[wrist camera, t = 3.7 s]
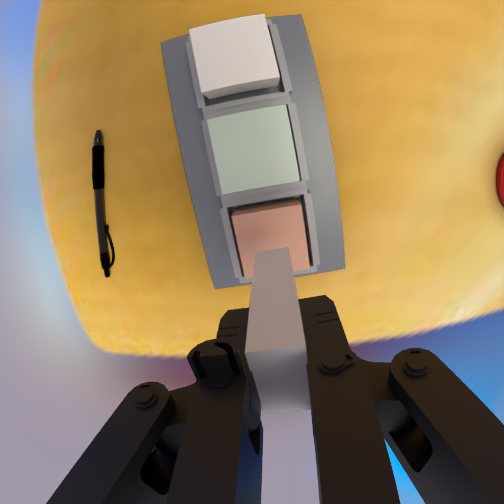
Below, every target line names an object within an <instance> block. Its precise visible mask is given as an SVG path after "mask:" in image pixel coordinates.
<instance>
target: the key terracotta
mask: <svg viewBox="0 0 504 504" xmlns="http://www.w3.org/2000/svg"><path fill="white" fill-rule="evenodd" d="M232 221H233V225H234V230H235V235H236V239H237V244H238V248H239V253H240V257H241V262H242V266H243V271H244V275H245V279H249V278H252V277H253V268H254V258H255V252H259V251H265V250H272V249H278V248H284V247H289V253H290V258H291V263H292V268H293V272H294V271H300V270H306V269H310V265H309V257H308V249H307V241H306V234H305V227H304V220H303V213H302V206H301V203H300V202H299V200H298V198H291V199H285V200H279V201H273V202H267V203H262V204H256V205H250V206H245V207H239V208H235V210H234V212H233V214H232Z"/></svg>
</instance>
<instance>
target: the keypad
mask: <svg viewBox="0 0 504 504" xmlns="http://www.w3.org/2000/svg"><path fill="white" fill-rule="evenodd" d="M265 19H266V22H267V26H268V30H269V34H270V38H271V42H272V46H273V50H274V54H275V58H276V62H277V66H278V71H279V75H280V79H279V84H278V86H274V87H268V88H262V89H256V90H250V91H245V92H240V93H235V94H230V95H226V96H221V97H217V98H212V99H209V98H207V97H206V96H205V95H204V94H202V93H201V89H200V84H199V79H198V74H197V68H196V63H195V58H194V53H193V47H192V42H191V37H190V34H187V35H184V36H180V37H177V38H174V39H171V40H168V41H165V42H162V43H161V47H162V54H163V60H164V66H165V72H166V77H167V83H168V89H169V94H170V99H171V105H172V110H173V115H174V120H175V125H176V130H177V135H178V140H179V145H180V149H181V154H182V159H183V163H184V168H185V172H186V177H187V181H188V185H189V190H190V194H191V198H192V203H193V207H194V211H195V215H196V219H197V223H198V227H199V231H200V235H201V239H202V243H203V247H204V251H205V255H206V258H207V262H208V266H209V270H210V273H211V277H212V281H213V284H214V288H215V289H220V288H227V287H234V286H241V285H248V284H252V278H249V279H245V275H244V271H243V266H242V262H241V257H240V253H239V248H238V244H237V239H236V235H235V230H234V225H233V221H232V214H233V212H234V210H235V208H239V207H245V206H250V205H256V204H262V203H267V202H273V201H279V200H285V199H291V198H298V200H299V202H300V203H301V206H302V213H303V220H304V227H305V234H306V241H307V249H308V257H309V265H310V269H306V270H300V271H294V272H293V274H294V277H299V276H305V275H311V274H317V273H323V272H329V271H334V270H340V269H345V255H344V242H343V231H342V220H341V211H340V202H339V194H338V186H337V178H336V171H335V164H334V157H333V151H332V145H331V139H330V133H329V128H328V122H327V117H326V112H325V107H324V102H323V97H322V92H321V88H320V83H319V79H318V75H317V70H316V66H315V62H314V58H313V54H312V51H311V47H310V43H309V39H308V36H307V32H306V29H305V25H304V22H303V19H302V15H301V14H299V15H287V16H277V17H269V18H265ZM279 105H286V108H287V112H288V117H289V122H290V128H291V133H292V138H293V144H294V149H295V155H296V160H297V166H298V172H299V178H300V181H298V182H292V183H285V184H279V185H273V186H267V187H262V188H256V189H250V190H245V191H240V192H234V193H229V194H224V195H222V190H221V186H220V181H219V176H218V172H217V167H216V162H215V157H214V153H213V148H212V143H211V138H210V133H209V129H208V124H207V119H211V118H216V117H220V116H225V115H229V114H234V113H239V112H244V111H249V110H255V109H260V108H266V107H272V106H279Z"/></svg>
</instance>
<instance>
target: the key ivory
mask: <svg viewBox="0 0 504 504" xmlns="http://www.w3.org/2000/svg"><path fill="white" fill-rule="evenodd" d="M189 31H190V37H191V42H192V47H193V53H194V58H195V63H196V68H197V74H198V79H199V84H200V89H201V93H202V94H204V95H205V96H206V97H207V98H209V99H212V98H217V97H221V96H226V95H230V94H235V93H240V92H245V91H250V90H256V89H262V88H268V87H274V86H278V84H279V79H280V75H279V71H278V66H277V62H276V58H275V54H274V50H273V46H272V42H271V38H270V34H269V30H268V26H267V22H266V19H265V15H264V14H258V15H252V16H245V17H240V18H235V19H229V20H225V21H220V22H216V23H211V24H207V25H203V26H199V27H196V28H192V29H189Z"/></svg>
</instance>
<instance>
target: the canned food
mask: <svg viewBox="0 0 504 504" xmlns="http://www.w3.org/2000/svg"><path fill="white" fill-rule="evenodd" d="M497 189H498V194H499V198H500V200H501V203H502V204H503V206H504V155H503V156H502V158H501V160H500V163H499V166H498V172H497Z"/></svg>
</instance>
